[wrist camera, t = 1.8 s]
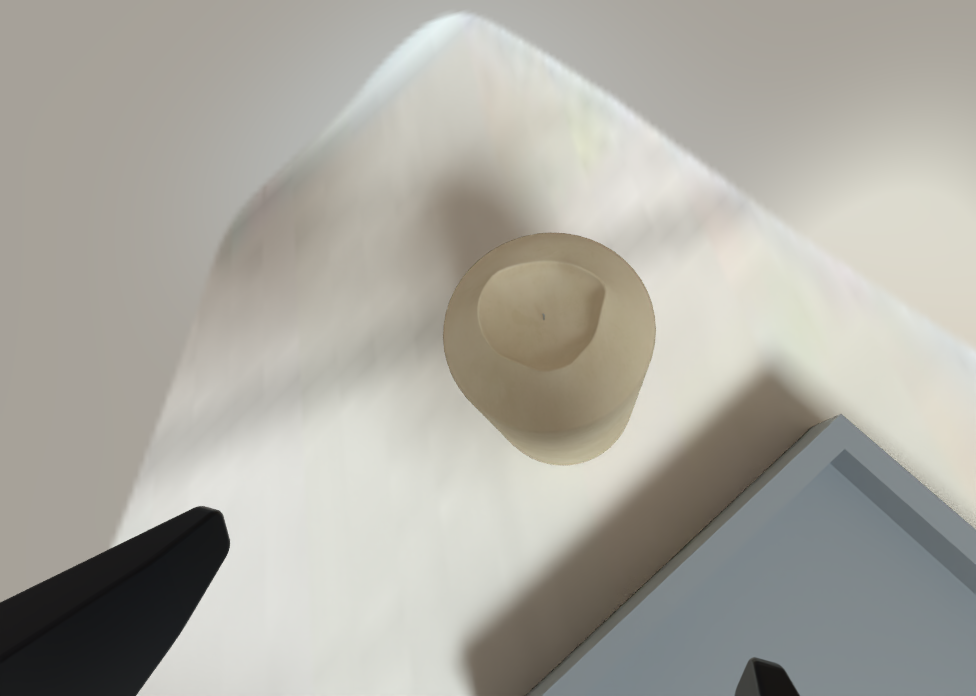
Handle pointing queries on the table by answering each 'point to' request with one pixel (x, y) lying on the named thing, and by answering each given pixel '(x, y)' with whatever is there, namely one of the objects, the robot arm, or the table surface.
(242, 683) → the table surface
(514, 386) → the candle
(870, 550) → the tray
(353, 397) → the table surface
